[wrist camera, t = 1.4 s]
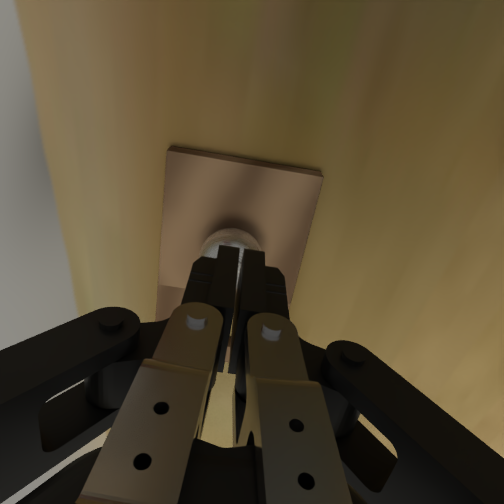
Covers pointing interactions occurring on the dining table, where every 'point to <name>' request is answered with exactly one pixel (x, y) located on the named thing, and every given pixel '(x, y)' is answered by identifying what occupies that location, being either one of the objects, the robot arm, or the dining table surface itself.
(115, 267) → the dining table surface
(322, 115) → the dining table surface
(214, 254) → the ball
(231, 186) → the wooden cutting board
